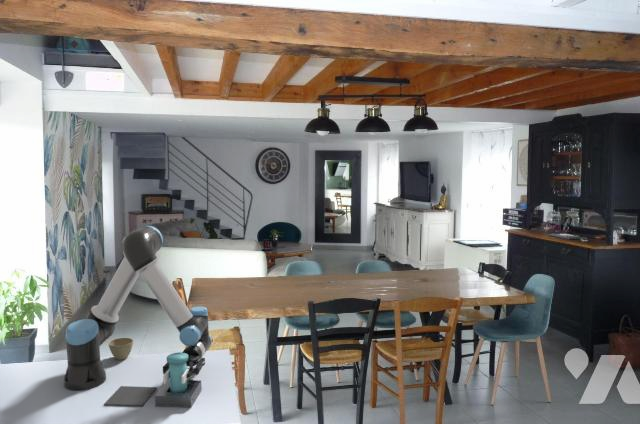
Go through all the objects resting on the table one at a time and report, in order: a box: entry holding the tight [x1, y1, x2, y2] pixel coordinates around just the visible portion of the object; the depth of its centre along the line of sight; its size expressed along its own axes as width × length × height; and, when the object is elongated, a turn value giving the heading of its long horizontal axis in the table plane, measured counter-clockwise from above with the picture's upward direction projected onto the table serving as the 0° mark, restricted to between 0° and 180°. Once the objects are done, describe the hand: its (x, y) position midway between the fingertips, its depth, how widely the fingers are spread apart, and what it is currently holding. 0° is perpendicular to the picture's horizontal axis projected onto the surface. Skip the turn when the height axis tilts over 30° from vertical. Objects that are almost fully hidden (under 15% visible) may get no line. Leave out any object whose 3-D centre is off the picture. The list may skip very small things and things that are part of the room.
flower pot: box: [108, 337, 134, 361], centre depth 237 cm, size 10×10×7 cm
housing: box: [154, 379, 203, 409], centre depth 200 cm, size 13×13×4 cm
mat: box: [103, 385, 158, 408], centre depth 202 cm, size 14×14×1 cm
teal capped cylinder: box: [166, 351, 188, 393], centre depth 200 cm, size 8×8×16 cm
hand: (173, 379), depth 194 cm, fingers closed on teal capped cylinder, 6 cm apart
